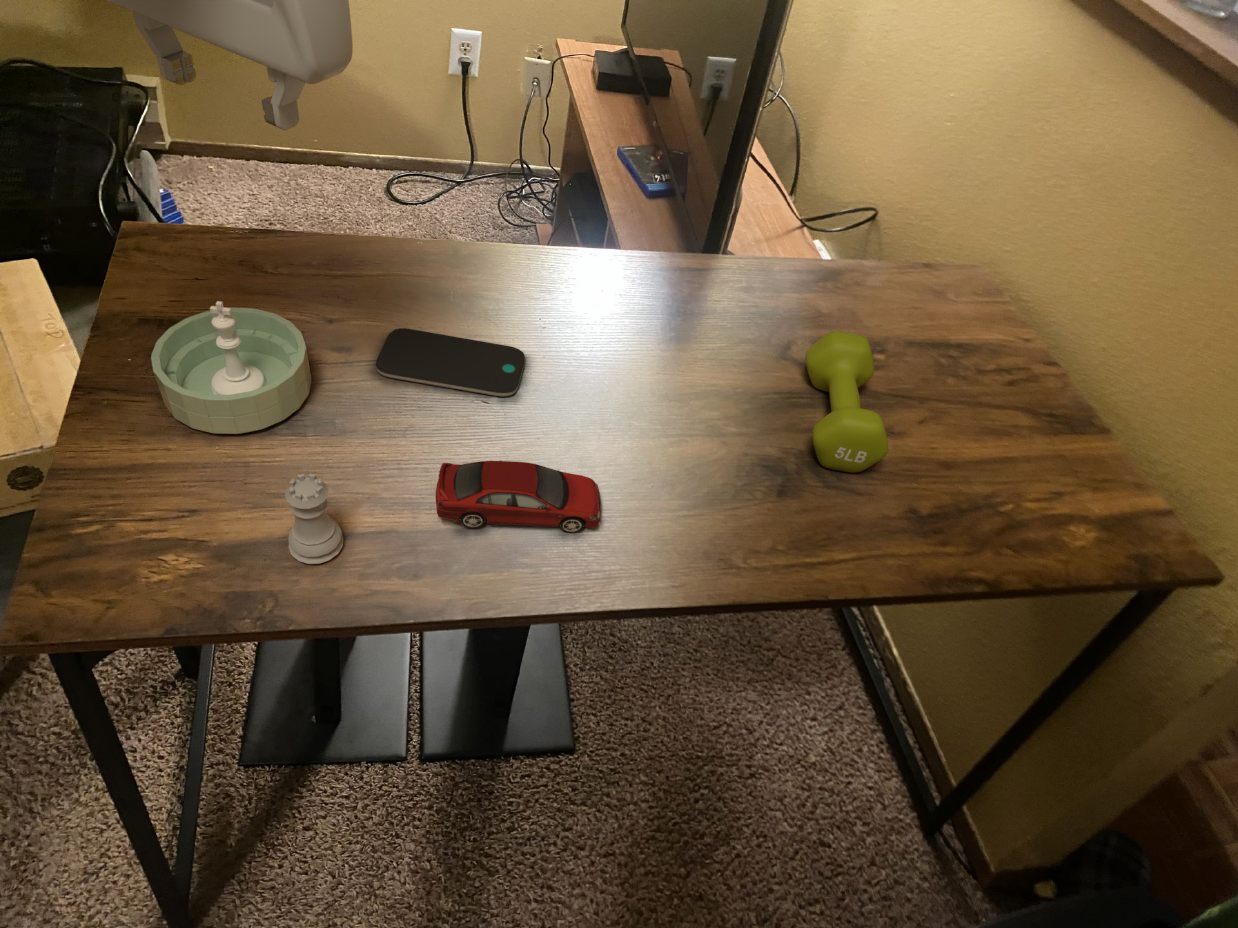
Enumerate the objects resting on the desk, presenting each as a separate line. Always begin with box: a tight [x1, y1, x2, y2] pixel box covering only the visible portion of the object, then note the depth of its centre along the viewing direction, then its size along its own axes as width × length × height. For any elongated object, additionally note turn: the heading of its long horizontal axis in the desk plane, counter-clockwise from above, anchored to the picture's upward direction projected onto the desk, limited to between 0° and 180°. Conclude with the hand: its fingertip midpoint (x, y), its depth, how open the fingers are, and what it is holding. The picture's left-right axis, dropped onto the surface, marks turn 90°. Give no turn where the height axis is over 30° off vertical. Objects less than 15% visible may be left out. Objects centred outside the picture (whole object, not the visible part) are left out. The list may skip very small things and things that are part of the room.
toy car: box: [435, 460, 602, 534], centre depth 76 cm, size 6×15×5 cm, turn 91°
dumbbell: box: [805, 330, 889, 473], centre depth 90 cm, size 16×8×7 cm, turn 174°
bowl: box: [150, 306, 312, 435], centre depth 81 cm, size 13×13×5 cm
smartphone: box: [375, 327, 526, 397], centre depth 89 cm, size 8×1×15 cm
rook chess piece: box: [284, 473, 344, 565], centre depth 69 cm, size 4×4×8 cm
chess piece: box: [209, 300, 266, 395], centre depth 79 cm, size 5×5×10 cm
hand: (230, 102), depth 59 cm, fingers open, 8 cm apart
